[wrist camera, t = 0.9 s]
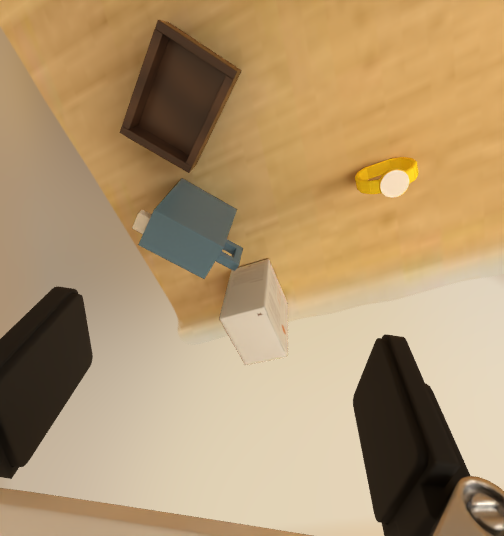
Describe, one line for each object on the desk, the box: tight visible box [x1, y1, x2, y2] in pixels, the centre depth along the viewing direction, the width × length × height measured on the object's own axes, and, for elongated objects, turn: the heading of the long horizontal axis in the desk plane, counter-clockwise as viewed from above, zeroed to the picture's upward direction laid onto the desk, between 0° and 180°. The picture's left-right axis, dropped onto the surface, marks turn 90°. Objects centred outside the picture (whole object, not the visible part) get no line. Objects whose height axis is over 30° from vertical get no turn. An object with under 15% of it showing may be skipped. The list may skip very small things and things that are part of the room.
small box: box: [219, 259, 288, 365], centre depth 44 cm, size 8×6×10 cm
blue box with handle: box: [132, 178, 243, 279], centre depth 39 cm, size 4×11×10 cm, turn 60°
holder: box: [120, 20, 241, 173], centre depth 36 cm, size 11×8×3 cm
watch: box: [355, 157, 418, 198], centre depth 36 cm, size 6×3×6 cm, turn 110°
